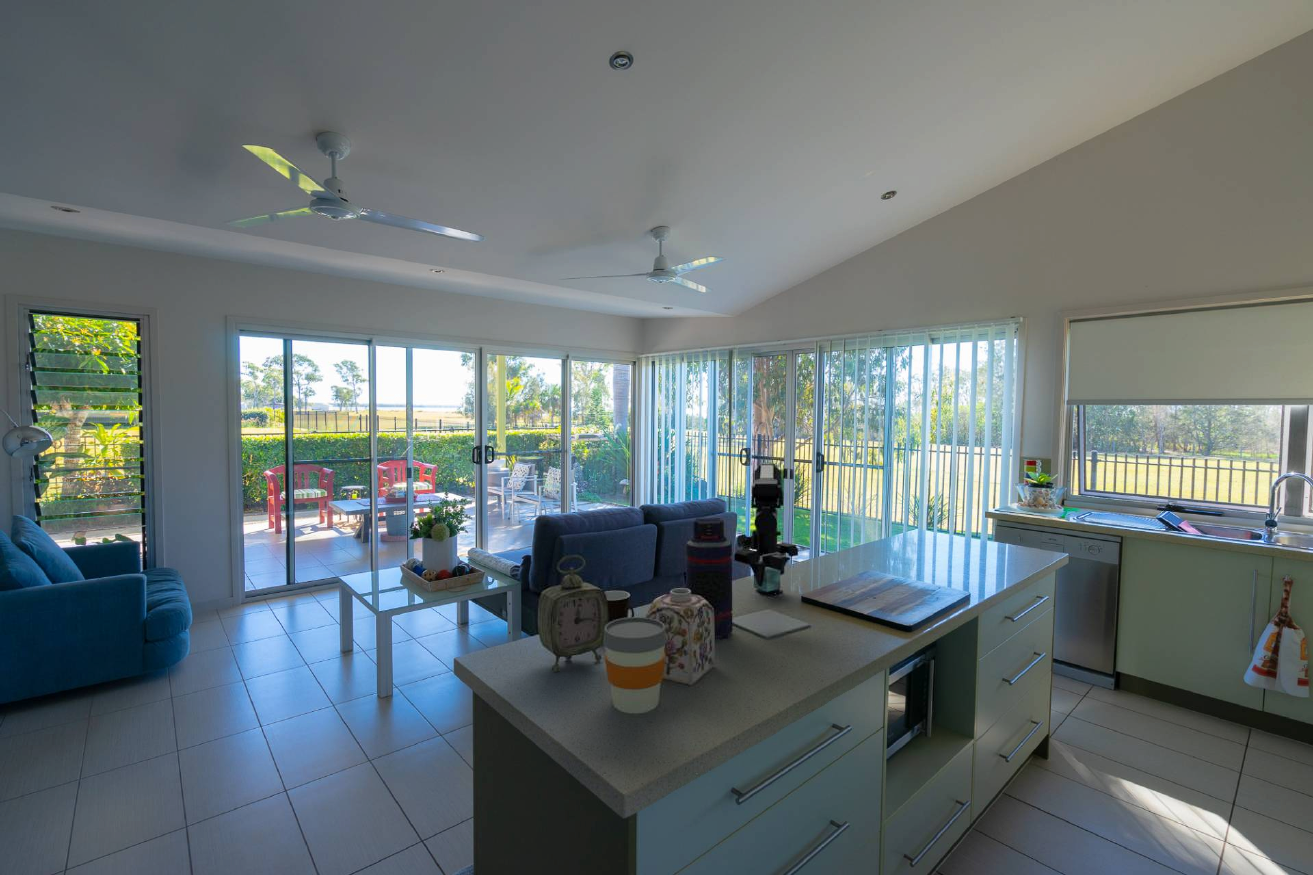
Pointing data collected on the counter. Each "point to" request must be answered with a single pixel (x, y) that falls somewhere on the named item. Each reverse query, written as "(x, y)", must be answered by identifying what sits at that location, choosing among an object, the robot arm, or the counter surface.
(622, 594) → the coffee mug
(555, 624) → the tabletop clock
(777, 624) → the slate pad
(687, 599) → the decorative jar
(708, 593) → the thermos flask
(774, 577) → the teal block
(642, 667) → the reusable coffee cup
